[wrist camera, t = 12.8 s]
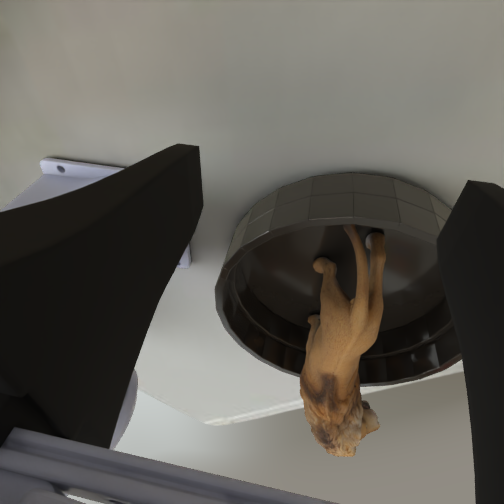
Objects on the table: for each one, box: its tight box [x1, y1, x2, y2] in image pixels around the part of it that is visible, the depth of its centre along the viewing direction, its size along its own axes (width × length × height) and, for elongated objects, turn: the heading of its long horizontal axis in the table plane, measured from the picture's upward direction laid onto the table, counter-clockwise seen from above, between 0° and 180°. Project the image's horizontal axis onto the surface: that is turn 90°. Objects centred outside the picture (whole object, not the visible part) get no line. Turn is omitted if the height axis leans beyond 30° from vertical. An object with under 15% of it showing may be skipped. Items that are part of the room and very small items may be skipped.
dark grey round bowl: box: [215, 172, 462, 387], centre depth 23 cm, size 16×16×4 cm
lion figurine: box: [300, 224, 386, 457], centre depth 22 cm, size 15×5×9 cm, turn 9°
